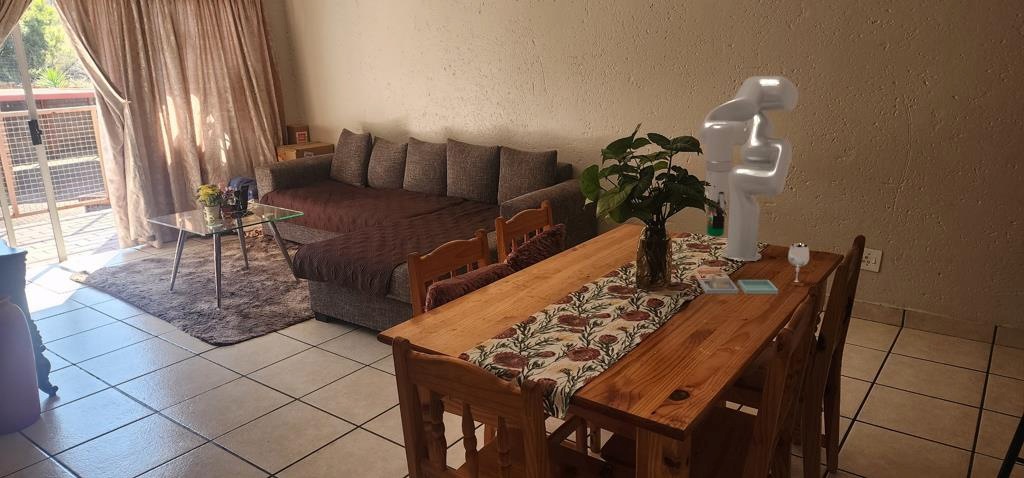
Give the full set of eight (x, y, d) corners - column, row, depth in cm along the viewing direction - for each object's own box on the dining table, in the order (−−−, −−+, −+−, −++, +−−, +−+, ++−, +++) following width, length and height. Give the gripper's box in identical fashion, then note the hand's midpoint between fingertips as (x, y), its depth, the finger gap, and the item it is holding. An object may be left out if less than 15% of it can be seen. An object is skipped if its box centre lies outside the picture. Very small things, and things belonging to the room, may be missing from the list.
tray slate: (699, 285, 198) (700, 279, 198) (730, 285, 198) (730, 279, 197) (706, 295, 190) (706, 289, 189) (738, 295, 189) (738, 289, 188)
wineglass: (803, 288, 193) (807, 249, 190) (783, 285, 197) (786, 246, 194) (808, 283, 198) (812, 244, 195) (788, 279, 201) (792, 241, 198)
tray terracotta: (693, 275, 208) (694, 269, 207) (722, 275, 207) (723, 269, 207) (699, 284, 199) (699, 278, 199) (729, 284, 199) (730, 278, 198)
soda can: (721, 232, 202) (723, 194, 199) (725, 237, 197) (727, 197, 194) (704, 232, 202) (706, 194, 199) (708, 237, 197) (710, 197, 194)
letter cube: (709, 287, 195) (709, 273, 194) (721, 285, 196) (722, 272, 195) (715, 291, 191) (716, 277, 190) (728, 290, 192) (729, 276, 191)
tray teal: (737, 285, 197) (737, 279, 197) (768, 285, 197) (768, 279, 196) (745, 295, 189) (745, 289, 188) (777, 295, 188) (778, 289, 188)
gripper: (699, 162, 203) (697, 219, 207) (712, 171, 186) (709, 233, 191) (724, 161, 202) (721, 219, 207) (739, 171, 186) (735, 233, 190)
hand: (715, 225), depth 199 cm, fingers closed on soda can, 5 cm apart
